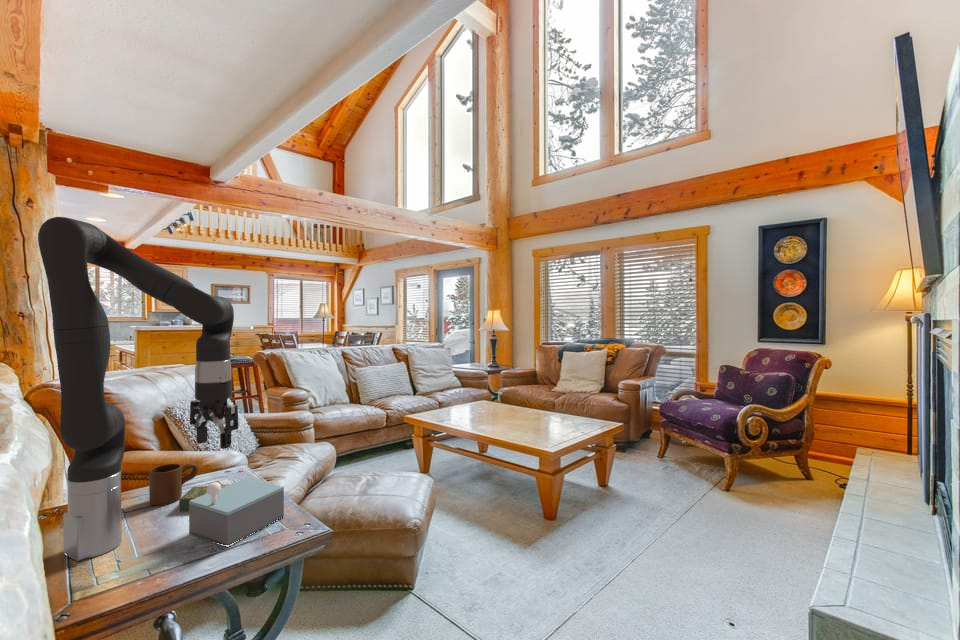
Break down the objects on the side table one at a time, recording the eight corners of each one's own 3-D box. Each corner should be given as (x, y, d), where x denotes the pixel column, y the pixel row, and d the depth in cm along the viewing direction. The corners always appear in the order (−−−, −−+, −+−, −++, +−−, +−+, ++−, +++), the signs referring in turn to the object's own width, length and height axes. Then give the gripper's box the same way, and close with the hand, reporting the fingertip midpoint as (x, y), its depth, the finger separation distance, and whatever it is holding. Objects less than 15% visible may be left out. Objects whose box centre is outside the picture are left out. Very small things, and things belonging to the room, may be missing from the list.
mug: (194, 487, 133) (194, 457, 132) (202, 495, 128) (202, 463, 128) (146, 500, 124) (146, 468, 123) (153, 509, 119) (153, 475, 118)
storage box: (227, 547, 100) (227, 516, 100) (189, 534, 106) (189, 504, 106) (283, 517, 115) (283, 490, 115) (247, 507, 121) (247, 480, 120)
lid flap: (227, 515, 100) (227, 490, 100) (189, 503, 106) (189, 479, 106) (283, 489, 115) (283, 467, 115) (247, 480, 120) (247, 459, 120)
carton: (242, 509, 120) (242, 494, 120) (178, 513, 117) (178, 498, 117) (251, 496, 128) (251, 481, 128) (192, 499, 125) (192, 485, 125)
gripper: (178, 378, 103) (178, 445, 103) (218, 383, 97) (218, 454, 98) (209, 374, 110) (209, 437, 110) (248, 378, 104) (248, 445, 104)
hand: (213, 445), depth 104 cm, fingers open, 8 cm apart
